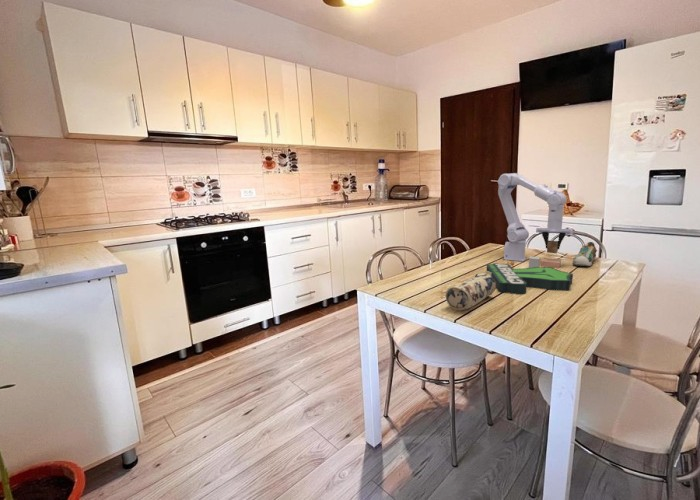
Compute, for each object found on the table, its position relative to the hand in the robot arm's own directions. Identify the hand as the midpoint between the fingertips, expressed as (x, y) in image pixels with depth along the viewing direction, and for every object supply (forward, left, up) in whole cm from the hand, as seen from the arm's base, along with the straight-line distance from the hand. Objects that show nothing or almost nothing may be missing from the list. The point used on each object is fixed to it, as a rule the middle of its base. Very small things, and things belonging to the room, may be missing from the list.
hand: (552, 248), depth 158 cm
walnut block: (0, 0, -2) cm, 2 cm away
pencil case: (-18, -66, -9) cm, 69 cm away
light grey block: (-6, -8, -8) cm, 13 cm away
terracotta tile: (0, 0, -9) cm, 9 cm away
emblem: (-4, -31, -9) cm, 33 cm away
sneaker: (+13, +12, -9) cm, 19 cm away
